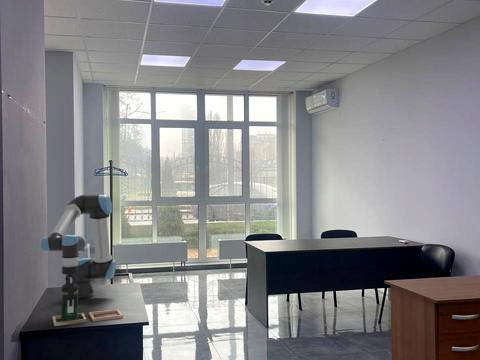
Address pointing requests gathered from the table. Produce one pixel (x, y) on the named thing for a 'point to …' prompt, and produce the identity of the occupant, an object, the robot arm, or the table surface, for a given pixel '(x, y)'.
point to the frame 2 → (106, 316)
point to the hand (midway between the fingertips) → (69, 310)
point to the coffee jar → (64, 304)
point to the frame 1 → (69, 321)
